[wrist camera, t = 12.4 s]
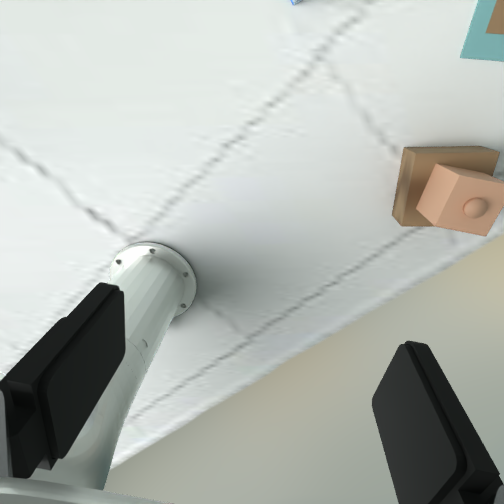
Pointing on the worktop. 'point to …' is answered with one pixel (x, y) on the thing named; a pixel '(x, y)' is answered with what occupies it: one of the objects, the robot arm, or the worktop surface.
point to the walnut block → (419, 171)
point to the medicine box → (295, 1)
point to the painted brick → (462, 199)
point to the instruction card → (486, 32)
